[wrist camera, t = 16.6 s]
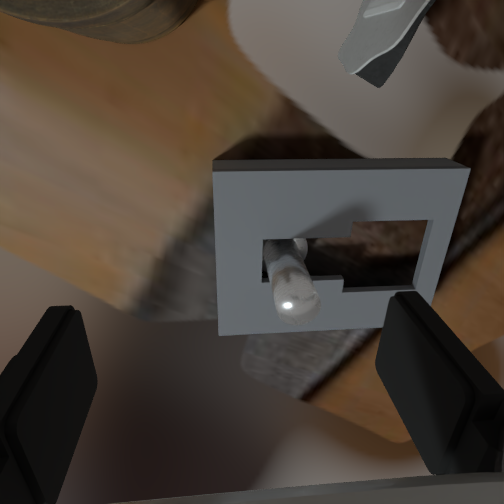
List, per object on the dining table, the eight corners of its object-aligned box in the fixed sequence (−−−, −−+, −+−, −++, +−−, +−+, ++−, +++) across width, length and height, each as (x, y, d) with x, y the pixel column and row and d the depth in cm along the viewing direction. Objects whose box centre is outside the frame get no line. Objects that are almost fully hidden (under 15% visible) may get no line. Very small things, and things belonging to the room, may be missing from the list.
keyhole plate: (212, 160, 39) (212, 171, 35) (446, 157, 41) (470, 168, 37) (218, 312, 48) (218, 335, 44) (408, 304, 50) (424, 325, 46)
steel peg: (306, 218, 43) (338, 275, 31) (301, 265, 46) (329, 334, 34) (251, 218, 42) (264, 277, 31) (250, 266, 45) (261, 336, 34)
